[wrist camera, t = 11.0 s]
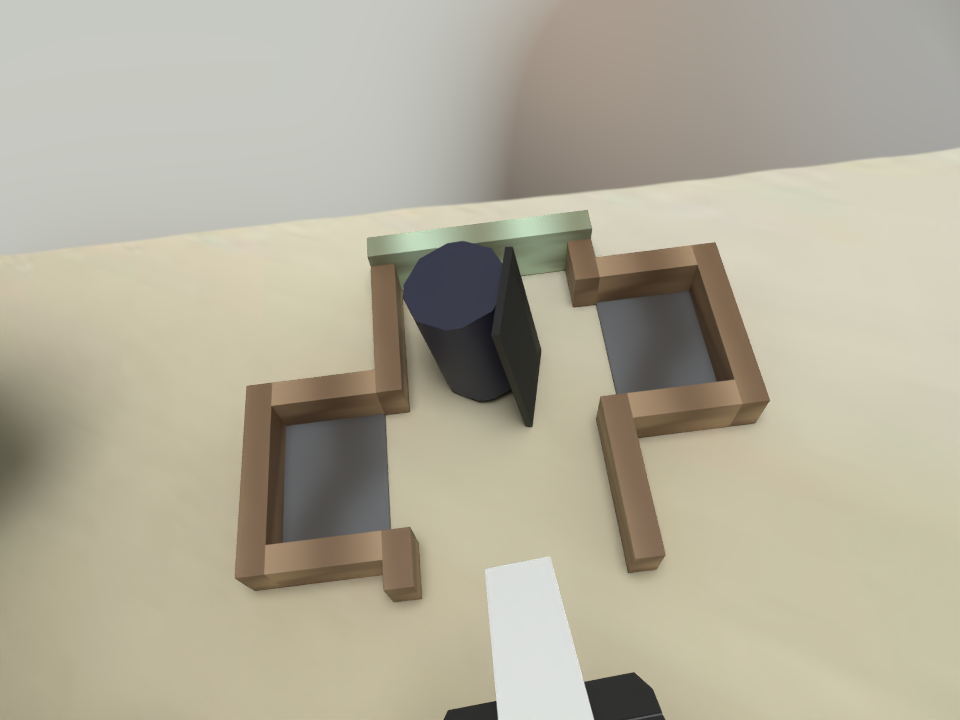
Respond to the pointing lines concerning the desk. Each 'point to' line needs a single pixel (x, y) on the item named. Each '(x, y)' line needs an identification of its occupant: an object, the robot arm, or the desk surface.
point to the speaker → (477, 322)
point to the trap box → (375, 393)
